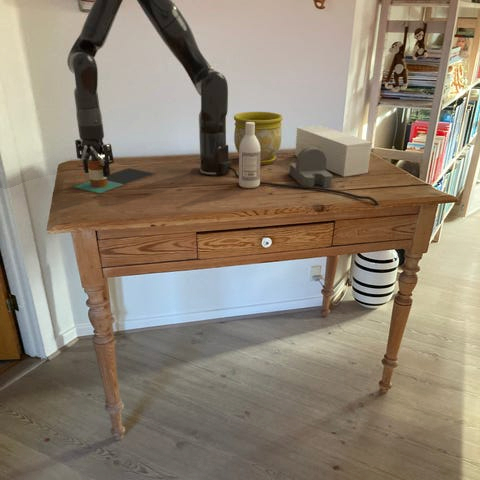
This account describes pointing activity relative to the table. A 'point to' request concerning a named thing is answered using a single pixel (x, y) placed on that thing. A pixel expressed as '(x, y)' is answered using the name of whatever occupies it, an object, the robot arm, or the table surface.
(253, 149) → the bath foam
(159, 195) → the table surface
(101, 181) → the soap bottle
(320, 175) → the bracket
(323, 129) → the white rectangular box
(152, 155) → the table surface
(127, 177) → the mat
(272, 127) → the flowerpot
